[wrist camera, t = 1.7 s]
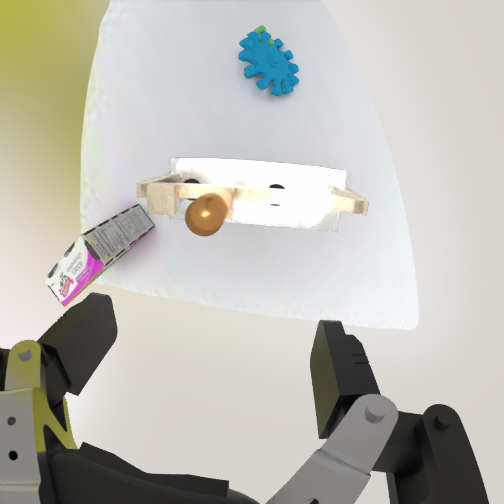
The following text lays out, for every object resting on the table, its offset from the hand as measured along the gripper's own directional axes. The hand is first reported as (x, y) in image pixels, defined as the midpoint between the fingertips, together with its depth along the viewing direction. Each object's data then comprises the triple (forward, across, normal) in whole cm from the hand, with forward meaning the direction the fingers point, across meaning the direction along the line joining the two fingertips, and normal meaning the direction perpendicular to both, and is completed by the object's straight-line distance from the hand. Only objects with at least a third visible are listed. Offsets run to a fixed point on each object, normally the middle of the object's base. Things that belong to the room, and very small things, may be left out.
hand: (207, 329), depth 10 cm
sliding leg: (+30, +3, -1) cm, 30 cm away
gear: (+32, -1, -19) cm, 38 cm away
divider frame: (+32, 0, 0) cm, 32 cm away
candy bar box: (+32, +21, +8) cm, 39 cm away
